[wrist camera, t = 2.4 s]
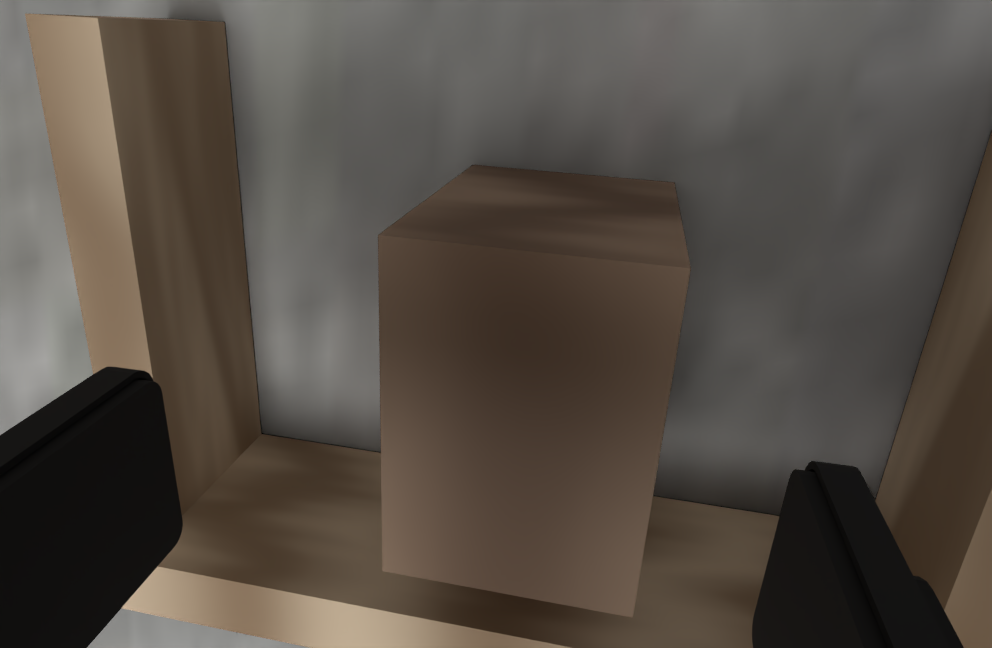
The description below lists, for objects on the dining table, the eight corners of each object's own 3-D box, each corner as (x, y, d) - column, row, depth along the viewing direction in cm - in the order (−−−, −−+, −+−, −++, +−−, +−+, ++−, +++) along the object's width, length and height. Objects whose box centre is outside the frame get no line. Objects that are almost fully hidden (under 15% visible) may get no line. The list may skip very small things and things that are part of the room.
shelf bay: (1096, 73, 15) (1365, 95, 9) (912, 585, 20) (1012, 793, 14) (166, 18, 18) (-43, 10, 12) (219, 468, 23) (89, 601, 18)
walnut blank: (674, 182, 17) (690, 268, 11) (637, 431, 20) (632, 617, 13) (473, 164, 18) (378, 234, 12) (463, 406, 21) (382, 571, 14)
